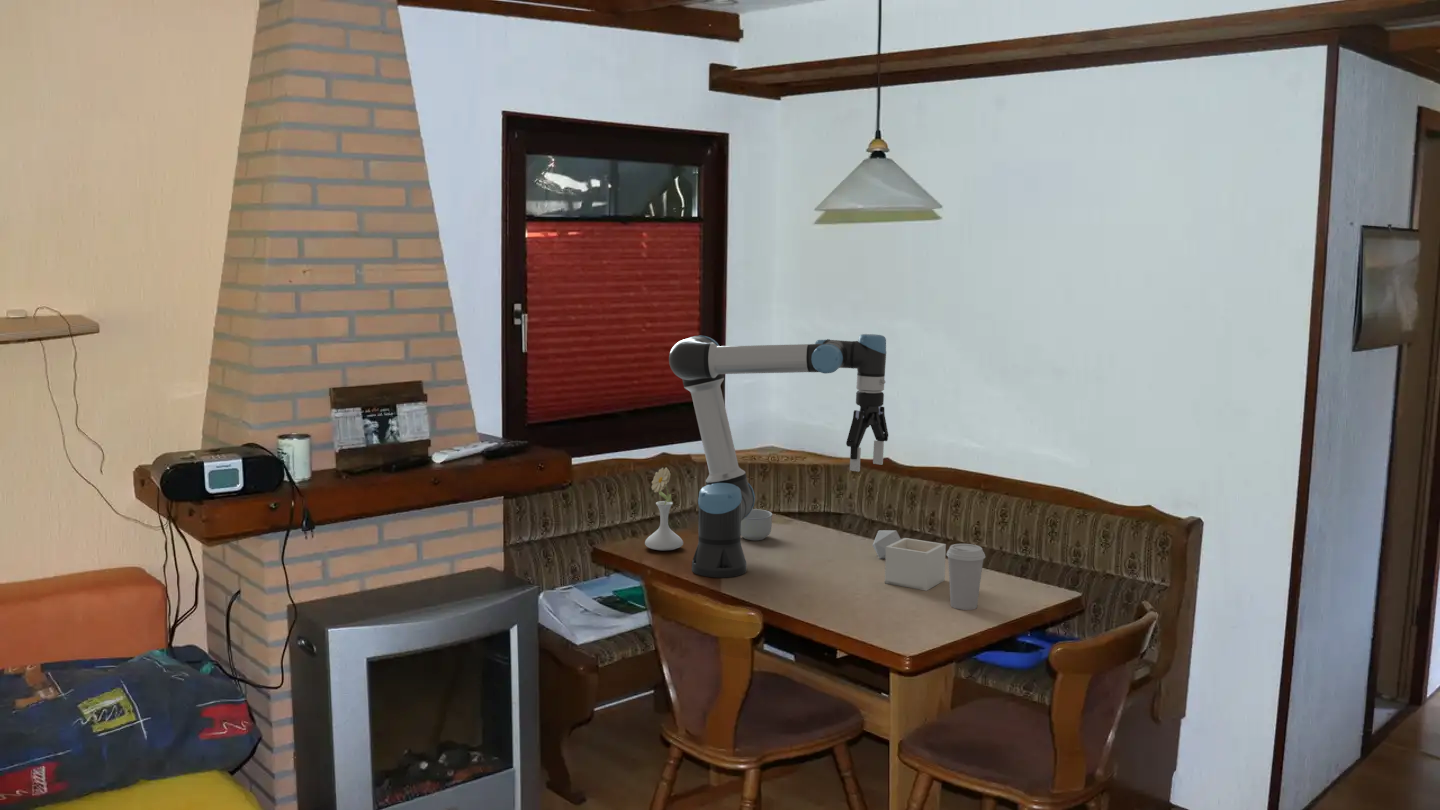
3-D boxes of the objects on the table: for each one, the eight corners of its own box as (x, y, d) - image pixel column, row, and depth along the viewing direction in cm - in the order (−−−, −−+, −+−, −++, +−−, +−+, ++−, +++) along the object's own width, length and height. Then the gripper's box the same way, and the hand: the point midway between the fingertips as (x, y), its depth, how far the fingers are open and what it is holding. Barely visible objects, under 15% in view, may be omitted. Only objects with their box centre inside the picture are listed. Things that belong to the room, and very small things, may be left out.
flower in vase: (642, 544, 351) (642, 462, 348) (680, 543, 353) (680, 461, 350) (647, 555, 339) (648, 470, 335) (686, 554, 341) (687, 469, 337)
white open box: (926, 590, 306) (927, 553, 305) (884, 583, 313) (885, 546, 311) (944, 580, 316) (945, 544, 315) (903, 573, 323) (904, 537, 321)
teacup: (778, 537, 362) (778, 511, 361) (760, 544, 353) (760, 518, 352) (739, 531, 370) (739, 506, 368) (721, 538, 360) (721, 512, 359)
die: (901, 556, 343) (883, 528, 345) (913, 548, 336) (895, 519, 338) (880, 569, 340) (862, 540, 342) (892, 561, 332) (873, 532, 334)
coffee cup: (936, 603, 295) (938, 545, 293) (965, 598, 300) (967, 541, 298) (962, 614, 287) (964, 554, 285) (991, 608, 292) (993, 549, 290)
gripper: (860, 396, 308) (856, 475, 311) (902, 388, 329) (898, 463, 332) (835, 393, 313) (832, 471, 315) (878, 386, 333) (875, 459, 336)
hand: (866, 467), depth 323 cm, fingers open, 13 cm apart
